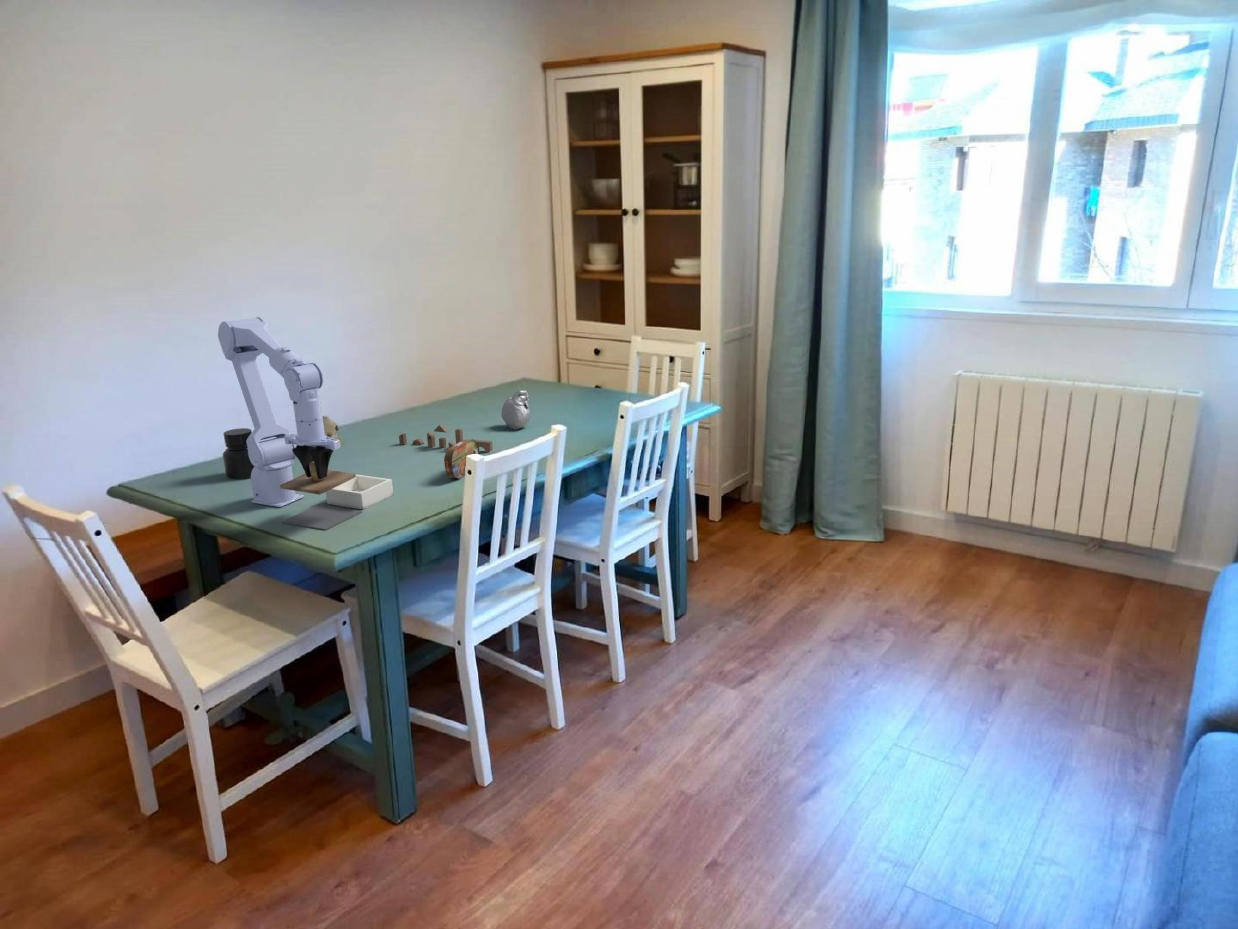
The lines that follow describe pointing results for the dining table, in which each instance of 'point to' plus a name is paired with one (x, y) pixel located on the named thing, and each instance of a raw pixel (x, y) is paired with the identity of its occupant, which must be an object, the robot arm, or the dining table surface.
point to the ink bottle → (237, 454)
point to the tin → (459, 457)
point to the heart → (516, 410)
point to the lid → (317, 481)
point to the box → (360, 492)
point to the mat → (322, 517)
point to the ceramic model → (331, 428)
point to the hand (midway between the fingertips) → (317, 476)
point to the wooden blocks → (442, 441)
